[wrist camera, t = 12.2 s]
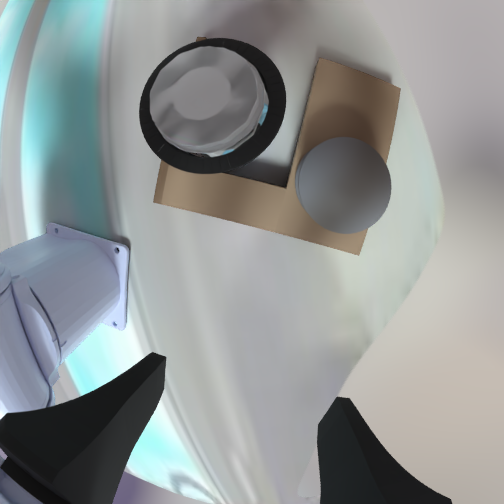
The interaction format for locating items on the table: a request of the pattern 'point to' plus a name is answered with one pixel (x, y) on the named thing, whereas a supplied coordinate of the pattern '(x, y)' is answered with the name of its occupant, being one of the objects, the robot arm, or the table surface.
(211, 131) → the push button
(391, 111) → the notched board
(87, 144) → the table surface
